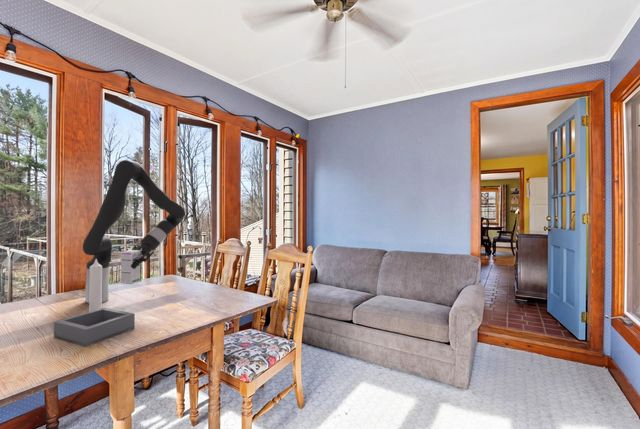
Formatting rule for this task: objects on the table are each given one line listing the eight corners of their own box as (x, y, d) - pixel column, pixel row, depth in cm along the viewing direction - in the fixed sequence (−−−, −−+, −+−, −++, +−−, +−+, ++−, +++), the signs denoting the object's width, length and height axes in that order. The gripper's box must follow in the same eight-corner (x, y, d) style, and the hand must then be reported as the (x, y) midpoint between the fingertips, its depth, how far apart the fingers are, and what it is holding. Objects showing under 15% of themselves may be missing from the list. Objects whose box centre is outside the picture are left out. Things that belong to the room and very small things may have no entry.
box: (53, 337, 112) (54, 321, 112) (104, 321, 128) (104, 307, 128) (85, 346, 105) (86, 329, 105) (134, 328, 122) (134, 313, 122)
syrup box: (131, 284, 135) (132, 251, 135) (120, 283, 136) (120, 251, 136) (141, 281, 140) (142, 250, 140) (130, 280, 142) (131, 249, 141)
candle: (108, 313, 139) (109, 258, 138) (92, 318, 132) (93, 260, 132) (97, 311, 141) (98, 257, 141) (81, 315, 134) (82, 259, 134)
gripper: (140, 232, 148) (113, 259, 138) (157, 234, 140) (130, 263, 131) (150, 242, 153) (125, 269, 143) (167, 245, 145) (142, 273, 135)
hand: (127, 266), depth 137 cm, fingers closed on syrup box, 7 cm apart
